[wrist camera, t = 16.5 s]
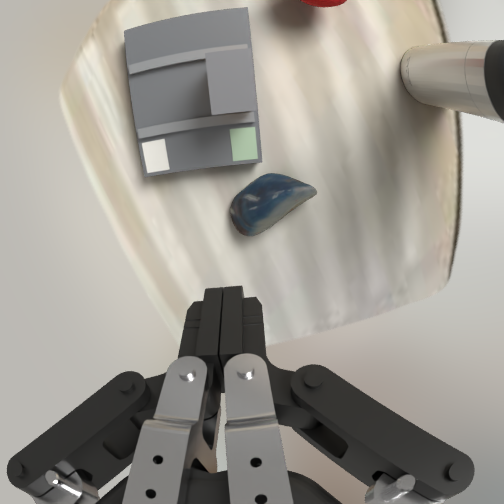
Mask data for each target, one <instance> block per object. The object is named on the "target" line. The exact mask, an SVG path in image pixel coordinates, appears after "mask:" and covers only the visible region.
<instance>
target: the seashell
mask: <svg viewBox="0 0 504 504" xmlns="http://www.w3.org/2000/svg"><path fill="white" fill-rule="evenodd" d="M316 194H317V191H316V189H315V188H314V187H312V186H310V185H308V184H305V183H303V182H300V181H298V180H296V179H293V178H291V177H288V176H285V175H281V174H274V173H270V174H266V175H263V176H260V177H259V178H257V179H256V180H255V181H253V182H252V183H250V184H249V185H248V186H247V187H246V188H245V189H244V190H242V191H241V192H240V193H239V194H238V195H237V196H236V197H235V198H234V200H233V202H232V206H231V210H230V214H231V218H232V221H233V223H234V225H235V227H236V229H237V230H238V231H239V232H240V233H242V234H243V235H247V236H254V235H257V234H259V233H261V232H263V231H265V230H266V229H268V228H270V227H271V226H273V225H274V224H275V223H277V222H278V221H279V220H280V219H282V218H283V217H284V216H285V215H287V214H288V213H289V212H290V211H292V210H293V209H294V208H296V207H297V206H298V205H300V204H302V203H303V202H305V201H306V200H308V199H310V198H312V197H313V196H315V195H316Z"/></svg>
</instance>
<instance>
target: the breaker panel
mask: <svg viewBox="0 0 504 504" xmlns="http://www.w3.org/2000/svg"><path fill="white" fill-rule="evenodd" d="M124 37H125V49H126V60H127V69H128V78H129V86H130V94H131V101H132V108H133V115H134V121H135V127H136V133H137V139H138V145H139V150H140V155H141V161H142V166H143V171H144V176H145V177H149V176H155V175H161V174H167V173H174V172H181V171H188V170H195V169H203V168H211V167H219V166H228V165H238V164H248V163H260V162H262V153H261V141H260V129H259V118H258V106H257V111H245V112H235V113H226V114H217V115H212V113H211V104H210V95H209V86H208V77H207V68H206V59H205V53H209V52H217V51H225V50H234V49H245V48H252V44H251V34H250V25H249V15H248V7H245V8H234V9H224V10H216V11H209V12H202V13H196V14H190V15H185V16H179V17H175V18H170V19H165V20H161V21H157V22H153V23H149V24H145V25H142V26H138V27H135V28H131V29H128V30H125V31H124ZM252 58H253V54H252ZM253 68H254V64H253ZM254 79H255V74H254ZM255 89H256V85H255ZM256 100H257V95H256Z"/></svg>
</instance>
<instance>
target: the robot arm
mask: <svg viewBox="0 0 504 504" xmlns="http://www.w3.org/2000/svg"><path fill="white" fill-rule="evenodd" d="M401 76H402V80H403V83H404V85H405V87H406V89H407V90H408V92H409V93H410V95H411V96H412V97H413V98H415V99H416V100H417V101H419V102H421V103H423V104H427V105H432V106H437V107H442V108H446V109H451V110H456V111H460V112H464V113H469V114H473V115H477V116H480V117H484V118H487V119H491V120H495V121H498V122H501V123H504V40H495V41H493V40H486V41H465V42H451V43H440V44H431V45H423V46H417V47H413V48H411V49H409V50H408V51H407V52H406V53H405V54H404V56H403V58H402V62H401ZM221 393H225V399H226V413H227V414H226V415H227V423H226V424H225V442H226V456H227V469H228V470H226V471H221V472H217V458H216V447H217V440H218V432H219V424H220V416H221V406H220V401H221ZM279 425H284V426H290V427H292V428H293V430H294V431H295V432H297V433H298V434H299V435H300V436H302V437H303V438H304V439H305V440H307V441H308V442H309V443H310V444H311V445H313V446H314V447H315V448H316V449H318V450H319V451H320V452H322V453H323V454H325V455H326V456H327V457H328V458H329V459H331V460H332V461H334V462H335V463H336V464H338V465H339V466H340V467H342V468H343V469H344V470H346V471H347V472H349V473H350V474H351V475H353V476H354V477H355V478H357V479H358V480H360V481H361V482H363V483H364V484H366V485H367V486H369V488H368V490H367V492H366V495H365V503H366V504H443V503H444V502H445V501H446V500H447V499H449V498H451V497H453V496H455V495H456V494H459V493H460V492H462V491H464V490H465V489H466V488H467V487H468V486H469V485H470V483H471V482H472V479H473V476H474V464H473V462H472V460H471V459H470V457H469V456H467V455H466V454H464V453H463V452H461V451H459V450H457V449H455V448H453V447H452V446H450V445H448V444H446V443H445V442H443V441H441V440H439V439H438V438H436V437H434V436H433V435H431V434H429V433H427V432H426V431H424V430H422V429H421V428H419V427H418V426H416V425H414V424H413V423H411V422H409V421H408V420H406V419H404V418H403V417H401V416H400V415H398V414H396V413H395V412H393V411H392V410H390V409H388V408H387V407H385V406H383V405H382V404H380V403H379V402H377V401H376V400H374V399H373V398H371V397H370V396H368V395H366V394H365V393H363V392H362V391H360V390H359V389H357V388H356V387H354V386H353V385H351V384H350V383H348V382H347V381H345V380H344V379H342V378H341V377H339V376H338V375H336V374H335V373H333V372H332V371H330V370H329V369H327V368H326V367H324V366H321V365H307V366H303V367H301V368H299V369H298V370H297V371H296V372H294V371H288V370H283V369H279V368H277V367H276V366H274V365H272V364H271V363H270V361H269V360H268V358H267V356H266V347H265V335H264V323H263V312H262V304H261V303H260V302H259V300H258V299H257V298H256V297H249V298H244V293H243V287H242V286H231V287H220V288H207V289H205V293H204V300H203V301H197V302H193V304H192V305H191V306H190V308H189V309H188V310H187V314H186V319H185V324H184V330H183V334H182V339H181V344H180V349H179V355H178V359H177V360H175V361H174V362H173V363H172V364H171V365H170V366H169V368H168V370H167V372H166V373H164V374H161V375H158V376H154V377H151V378H146V379H144V378H143V376H142V375H140V374H139V373H137V372H133V371H127V372H123V373H121V374H119V375H117V376H116V377H115V378H113V379H112V380H111V381H110V382H108V383H107V384H106V385H105V386H103V387H102V388H101V389H100V390H98V391H97V392H96V393H94V394H93V395H92V396H91V397H89V398H88V399H87V400H85V401H84V402H83V403H82V404H81V405H79V406H78V407H76V408H75V409H74V410H73V411H71V412H70V413H69V414H68V415H66V416H65V417H64V418H62V419H61V420H60V421H59V422H57V423H56V424H55V425H53V426H52V427H51V428H50V429H48V430H47V431H46V432H44V433H43V434H42V435H40V436H39V437H38V438H37V439H35V440H34V441H33V442H31V443H30V444H29V445H27V446H26V447H25V448H24V449H22V450H21V451H20V452H18V453H17V454H16V455H14V456H13V457H12V458H11V459H10V460H9V463H8V465H7V475H8V478H9V481H10V482H11V483H12V484H13V485H14V486H15V487H17V488H19V489H21V490H22V491H24V492H26V493H28V494H29V495H30V496H32V498H33V499H34V501H35V503H36V504H342V503H341V502H340V501H338V500H337V499H336V498H334V497H333V496H332V495H331V494H330V493H328V492H327V491H326V490H325V489H323V488H322V487H321V486H320V485H319V484H317V483H316V482H315V481H313V480H311V479H310V478H308V477H306V476H304V475H301V474H298V473H295V472H292V471H287V467H286V462H285V457H284V451H283V446H282V440H281V435H280V430H279ZM131 463H132V465H131V469H130V473H129V475H128V476H127V477H125V478H124V479H123V480H122V481H120V482H119V483H118V484H117V485H116V486H115V487H114V488H113V489H111V490H110V491H109V492H108V493H107V494H105V495H104V496H103V497H102V498H101V499H100V497H99V496H98V490H99V489H100V488H101V487H103V486H104V485H105V484H106V483H108V482H109V481H110V480H111V479H113V478H114V477H115V476H116V475H118V474H119V473H120V472H121V471H123V470H124V469H125V468H126V467H127V466H129V465H130V464H131Z"/></svg>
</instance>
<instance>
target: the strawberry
mask: <svg viewBox="0 0 504 504" xmlns="http://www.w3.org/2000/svg"><path fill="white" fill-rule="evenodd" d="M300 1H302V2H304V3H307V4H309V5H312V6H317V7H333V6H338V5H341V4H343V3H344V2H345V1H347V0H300Z"/></svg>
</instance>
